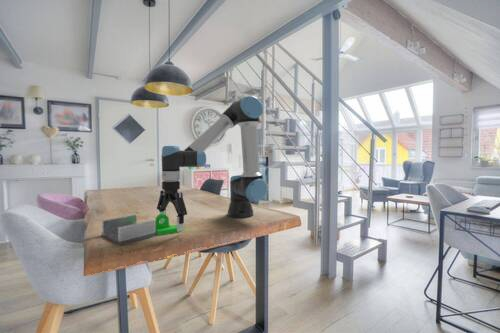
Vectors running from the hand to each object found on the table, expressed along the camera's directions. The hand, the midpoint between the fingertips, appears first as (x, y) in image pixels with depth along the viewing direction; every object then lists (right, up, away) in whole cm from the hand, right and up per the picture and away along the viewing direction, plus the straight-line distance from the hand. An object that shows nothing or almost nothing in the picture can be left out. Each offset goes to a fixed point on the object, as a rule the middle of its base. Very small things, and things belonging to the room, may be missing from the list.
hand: (171, 228), depth 106 cm
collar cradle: (-17, -2, -5) cm, 18 cm away
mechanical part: (-1, -2, +1) cm, 3 cm away
